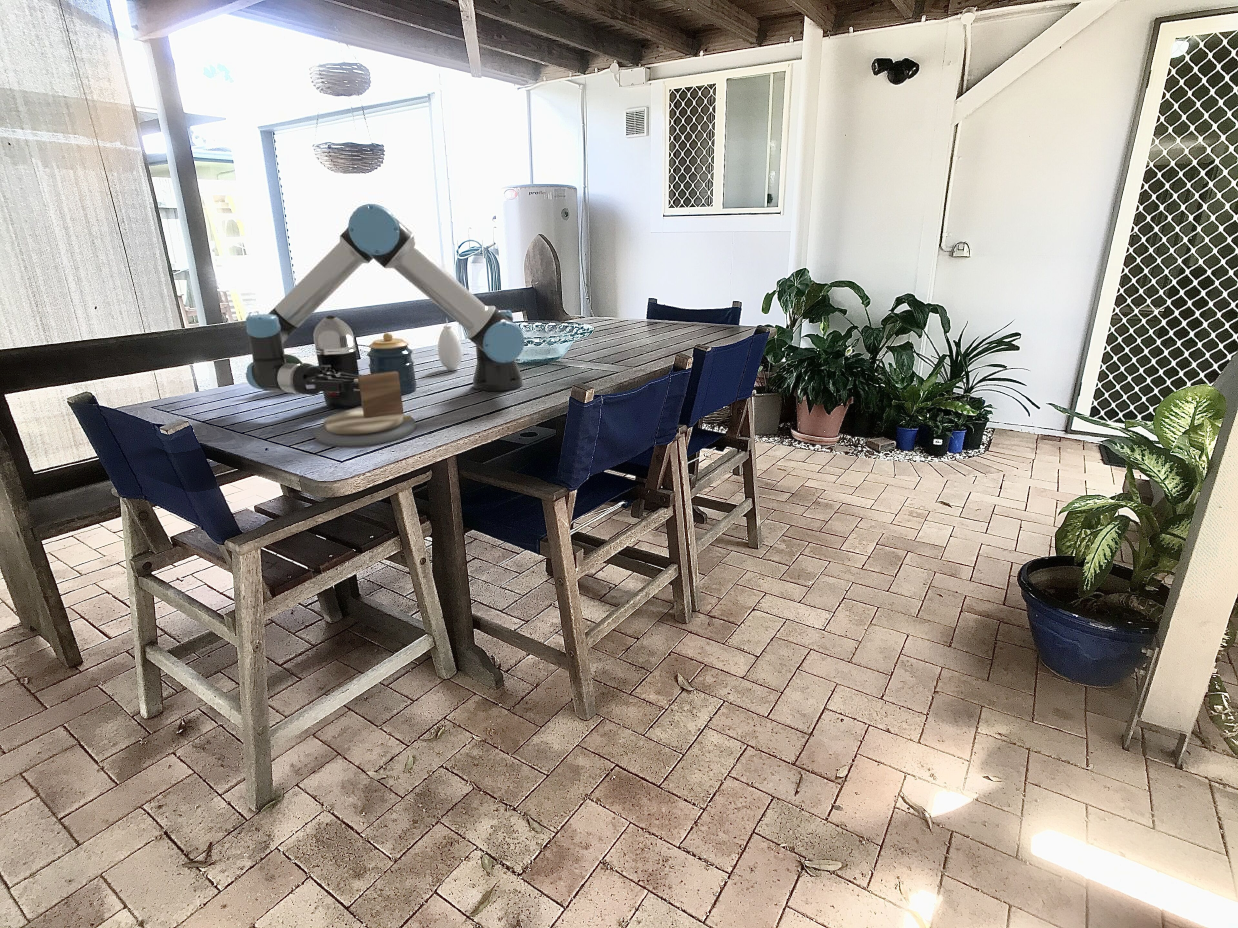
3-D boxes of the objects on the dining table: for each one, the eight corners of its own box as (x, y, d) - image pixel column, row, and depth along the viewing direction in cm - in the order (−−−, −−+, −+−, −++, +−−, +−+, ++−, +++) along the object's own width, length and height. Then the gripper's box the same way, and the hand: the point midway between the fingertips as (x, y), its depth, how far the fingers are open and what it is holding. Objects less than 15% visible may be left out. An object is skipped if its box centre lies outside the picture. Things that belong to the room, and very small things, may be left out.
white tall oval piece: (455, 373, 220) (449, 319, 214) (435, 371, 222) (429, 318, 216) (467, 368, 227) (462, 316, 220) (448, 367, 229) (443, 315, 223)
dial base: (419, 415, 171) (418, 409, 170) (411, 442, 149) (410, 434, 149) (326, 421, 166) (325, 414, 166) (305, 450, 145) (303, 442, 144)
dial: (412, 426, 154) (406, 378, 150) (331, 438, 145) (322, 389, 141) (394, 409, 169) (388, 365, 165) (320, 419, 160) (312, 374, 156)
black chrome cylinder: (350, 410, 176) (335, 317, 167) (317, 409, 178) (300, 317, 169) (371, 401, 185) (358, 312, 177) (339, 399, 187) (324, 312, 179)
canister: (392, 398, 188) (384, 337, 182) (363, 393, 195) (354, 334, 189) (426, 389, 199) (419, 331, 193) (397, 384, 205) (390, 328, 199)
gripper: (324, 387, 173) (398, 394, 165) (284, 399, 160) (362, 407, 153) (319, 359, 170) (394, 365, 163) (278, 370, 158) (358, 376, 151)
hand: (379, 386), depth 158 cm, fingers closed
